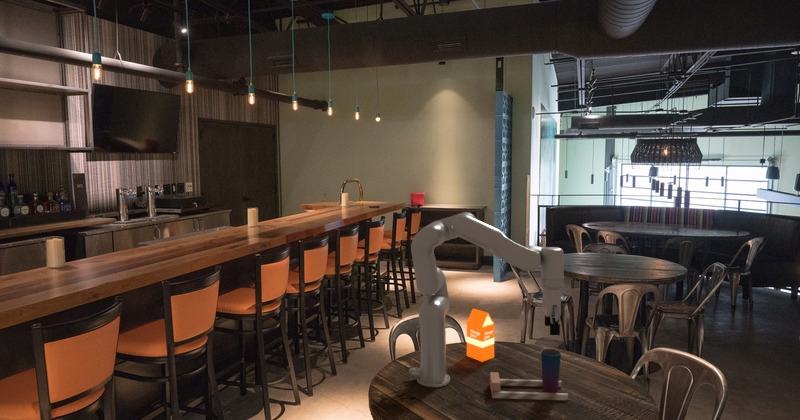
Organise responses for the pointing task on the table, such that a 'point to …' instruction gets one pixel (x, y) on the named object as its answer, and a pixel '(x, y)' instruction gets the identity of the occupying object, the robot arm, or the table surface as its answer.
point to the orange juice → (480, 336)
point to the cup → (550, 370)
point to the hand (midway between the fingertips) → (552, 330)
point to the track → (497, 393)
